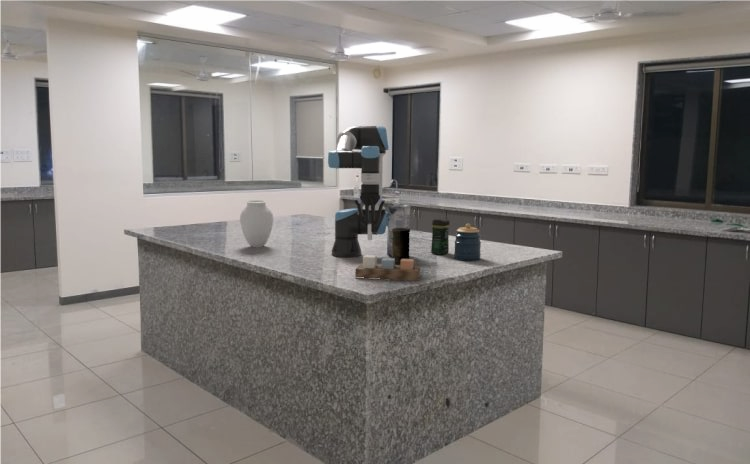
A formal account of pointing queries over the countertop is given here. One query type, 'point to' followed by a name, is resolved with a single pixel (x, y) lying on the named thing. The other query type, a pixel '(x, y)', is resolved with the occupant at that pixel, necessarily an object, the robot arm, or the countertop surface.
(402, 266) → the terracotta key
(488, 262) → the countertop surface
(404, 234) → the container
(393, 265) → the slate key
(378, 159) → the robot arm
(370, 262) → the ivory key
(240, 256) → the countertop surface
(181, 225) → the countertop surface
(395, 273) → the key panel
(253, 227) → the vase
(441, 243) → the coffee jar
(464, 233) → the canister
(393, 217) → the juice carton
